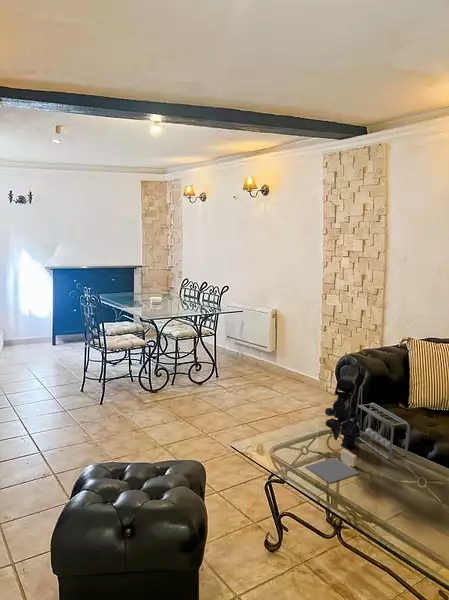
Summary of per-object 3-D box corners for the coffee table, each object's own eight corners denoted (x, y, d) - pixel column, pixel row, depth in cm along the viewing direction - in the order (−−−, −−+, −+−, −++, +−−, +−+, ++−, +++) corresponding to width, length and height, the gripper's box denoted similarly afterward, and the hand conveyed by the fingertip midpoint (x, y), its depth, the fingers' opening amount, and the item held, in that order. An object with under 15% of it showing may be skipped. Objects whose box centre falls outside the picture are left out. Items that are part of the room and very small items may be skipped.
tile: (343, 458, 244) (344, 448, 243) (355, 466, 238) (356, 455, 237) (340, 459, 243) (341, 449, 242) (352, 466, 237) (353, 456, 236)
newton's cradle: (352, 435, 270) (354, 403, 267) (368, 432, 274) (371, 401, 271) (389, 461, 243) (392, 426, 240) (407, 458, 246) (410, 423, 243)
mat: (334, 458, 244) (334, 457, 244) (359, 473, 230) (359, 472, 230) (304, 467, 234) (305, 466, 234) (329, 483, 221) (329, 482, 221)
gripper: (343, 395, 248) (340, 426, 251) (317, 404, 236) (315, 436, 239) (362, 403, 239) (359, 434, 242) (336, 412, 228) (334, 445, 231)
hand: (342, 437), depth 239 cm, fingers open, 9 cm apart
